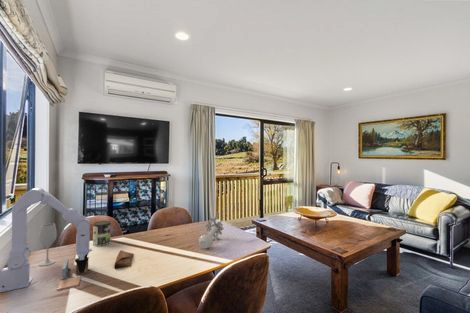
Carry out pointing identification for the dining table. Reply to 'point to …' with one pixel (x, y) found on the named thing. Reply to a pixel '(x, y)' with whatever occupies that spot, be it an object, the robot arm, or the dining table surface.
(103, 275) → the dining table surface
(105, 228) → the coffee can
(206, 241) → the flower vase
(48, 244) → the wineglass
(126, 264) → the sunglasses case
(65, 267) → the grey block with tabs
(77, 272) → the brown cube
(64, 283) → the coaster
